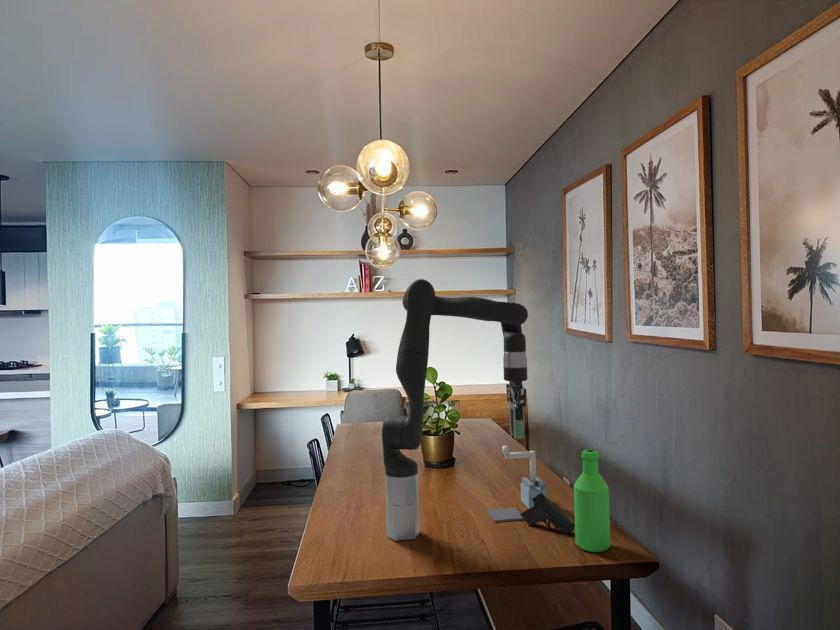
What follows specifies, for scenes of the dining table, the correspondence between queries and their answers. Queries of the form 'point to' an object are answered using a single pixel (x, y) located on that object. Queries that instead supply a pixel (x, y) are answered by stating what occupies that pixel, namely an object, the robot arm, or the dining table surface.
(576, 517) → the bottle
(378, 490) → the dining table surface
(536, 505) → the handgun
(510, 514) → the mat
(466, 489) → the dining table surface
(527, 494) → the grey hanging stand
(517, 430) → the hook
